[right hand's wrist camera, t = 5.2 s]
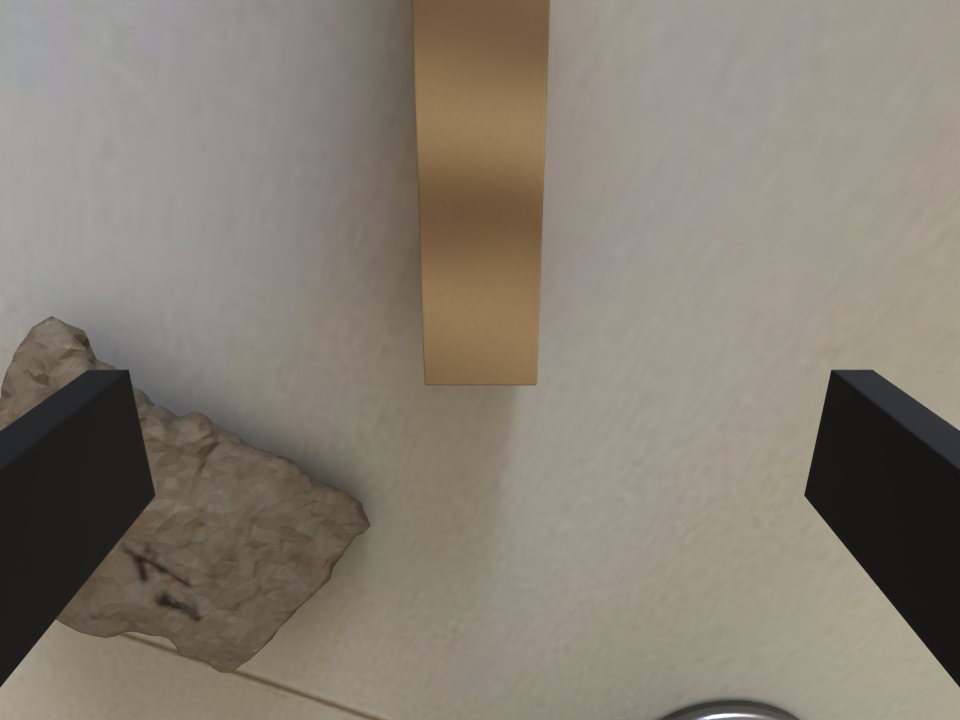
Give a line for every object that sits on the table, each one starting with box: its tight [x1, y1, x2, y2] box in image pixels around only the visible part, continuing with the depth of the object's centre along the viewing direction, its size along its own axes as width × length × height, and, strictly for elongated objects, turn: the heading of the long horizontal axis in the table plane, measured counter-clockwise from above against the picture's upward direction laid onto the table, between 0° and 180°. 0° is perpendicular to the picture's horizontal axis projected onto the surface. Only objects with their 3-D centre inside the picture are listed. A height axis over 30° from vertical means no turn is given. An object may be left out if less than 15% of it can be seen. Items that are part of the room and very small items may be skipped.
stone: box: [0, 316, 370, 673], centre depth 38 cm, size 21×15×6 cm
